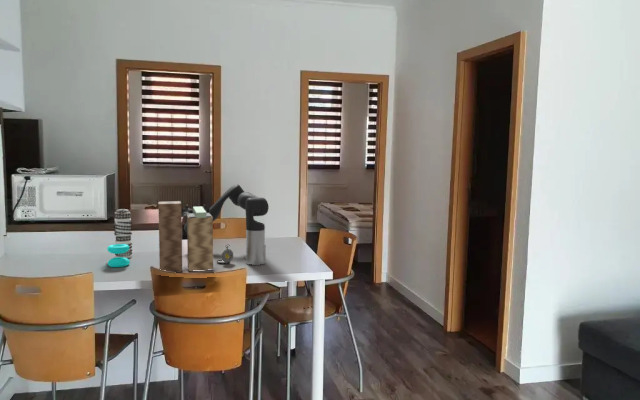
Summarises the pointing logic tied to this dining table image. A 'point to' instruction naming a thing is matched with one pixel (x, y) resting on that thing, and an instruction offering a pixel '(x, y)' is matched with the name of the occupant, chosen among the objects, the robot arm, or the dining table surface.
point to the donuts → (118, 260)
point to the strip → (199, 212)
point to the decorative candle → (123, 231)
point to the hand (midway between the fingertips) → (195, 206)
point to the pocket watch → (226, 255)
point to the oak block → (200, 242)
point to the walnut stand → (170, 236)
